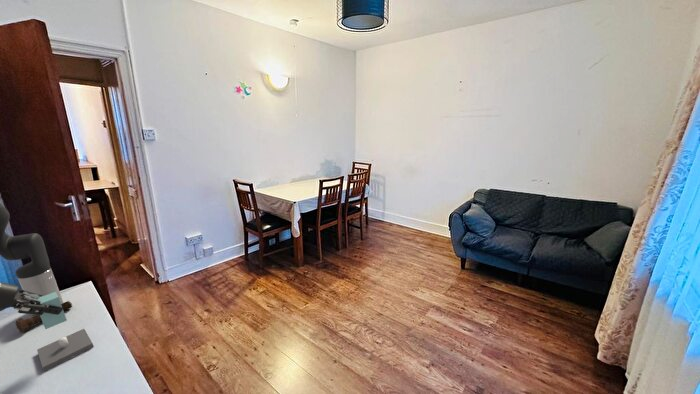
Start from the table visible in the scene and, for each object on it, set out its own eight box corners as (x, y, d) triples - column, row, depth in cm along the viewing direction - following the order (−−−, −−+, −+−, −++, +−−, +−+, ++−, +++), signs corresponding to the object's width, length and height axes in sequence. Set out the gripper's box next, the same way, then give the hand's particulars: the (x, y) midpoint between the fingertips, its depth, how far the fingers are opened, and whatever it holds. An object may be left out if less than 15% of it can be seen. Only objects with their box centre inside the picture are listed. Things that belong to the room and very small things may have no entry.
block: (43, 323, 93) (33, 299, 90) (64, 314, 97) (55, 291, 94) (45, 329, 90) (36, 305, 87) (67, 320, 94) (58, 297, 91)
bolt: (73, 312, 119) (23, 336, 105) (66, 304, 120) (15, 327, 106) (74, 303, 116) (22, 326, 103) (67, 295, 117) (14, 317, 104)
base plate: (38, 353, 95) (34, 342, 94) (85, 331, 105) (81, 321, 103) (44, 371, 88) (39, 359, 87) (93, 346, 98) (89, 335, 96)
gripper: (0, 290, 78) (72, 304, 91) (-3, 274, 87) (63, 289, 99) (-23, 317, 76) (54, 328, 88) (-24, 298, 84) (47, 310, 96)
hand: (59, 307), depth 93 cm, fingers closed on block, 5 cm apart
